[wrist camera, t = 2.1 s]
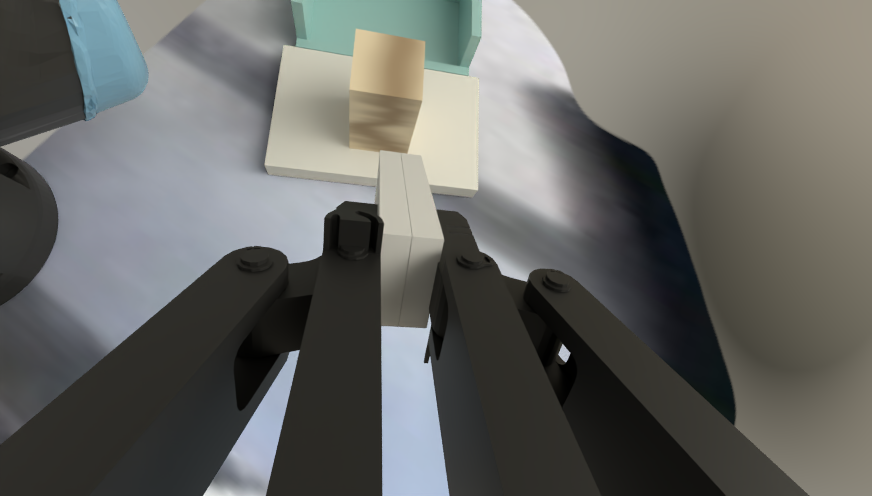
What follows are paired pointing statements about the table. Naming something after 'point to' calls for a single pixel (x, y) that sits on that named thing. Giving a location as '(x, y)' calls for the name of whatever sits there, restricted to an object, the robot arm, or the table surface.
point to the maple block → (385, 91)
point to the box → (394, 27)
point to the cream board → (329, 126)
